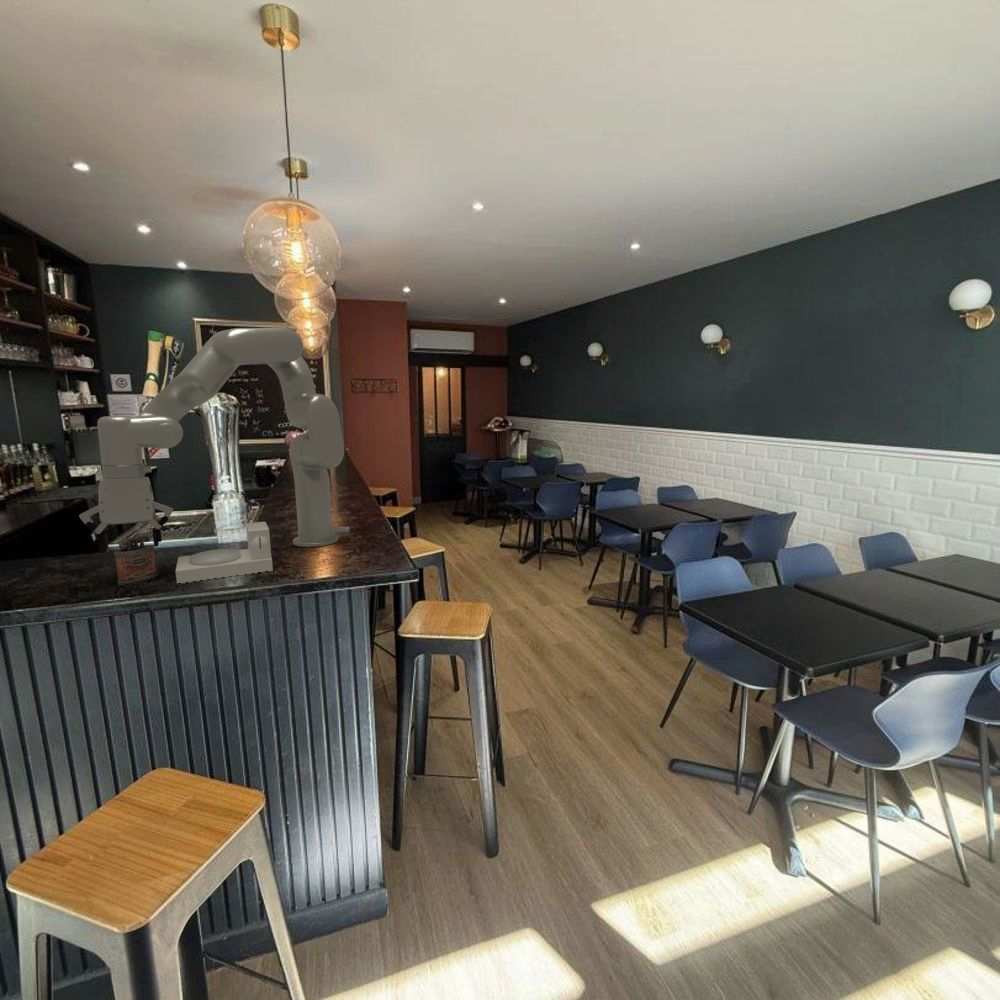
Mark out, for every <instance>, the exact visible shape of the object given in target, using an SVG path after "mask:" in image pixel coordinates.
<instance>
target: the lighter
mask: <svg viewBox="0 0 1000 1000" xmlns="http://www.w3.org/2000/svg"><path fill="white" fill-rule="evenodd" d="M150 539H151V537H150V536H149V535H143V536H138V537H136V538H133V537H128V538H126V540H122V541H118V547H119V549H120V550H116V551H114V552H113V556H114V557H115V559H114V560H115V565H116V571H117V579H118V580H117V585H118V584H119V585H118V586H120V585H123V586H126V585H125V584H129V583H134V582H138V581H142V580H146V579H149V580H151V579H150V578H152V579H154V578H153V577H156V576H158V574H159V573H158V572H157V568H156V559H155V551H154V550H155V546H154V544H145V543H147V542H150V541H151V540H150ZM156 578H157V577H156ZM146 581H147V580H146ZM142 582H143V581H142ZM138 583H139V582H138ZM134 584H135V583H134ZM129 585H130V584H129Z"/></svg>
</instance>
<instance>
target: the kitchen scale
mask: <svg viewBox="0 0 1000 1000" xmlns="http://www.w3.org/2000/svg"><path fill="white" fill-rule="evenodd" d="M245 526H246V536H247V548H245V549H244V548H243V549H232V548H221V549H220V548H219V549H210V550H209V549H208V550H206V551H200V552H197V553H196V552H195V553H194V554H192V555H184V556H183V555H181V556H177V557H178V558H177V562H176V567H175V578H176V579H175V580H176V585H179V584H178V583H181V584H187V583H186V582H188V583H194V582H193V581H196V582H201V581H200V580H203V581H208V580H207V579H210V580H215V579H214V578H217V579H223V578H222V577H225V578H231V577H230V576H232V577H237V576H236V575H239V576H245V574H247V575H253V574H252V573H254V574H259V573H258V572H261V573H266V572H265V571H268V572H273V571H274V569H273V558H272V550H271V548H272V547H271V539H270V528H269V526H268V524H267V522H266V521H257V522H247V523H245Z"/></svg>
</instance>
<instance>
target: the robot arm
mask: <svg viewBox="0 0 1000 1000" xmlns="http://www.w3.org/2000/svg"><path fill="white" fill-rule="evenodd" d="M303 352H304V342H303V340H302V338H301V336H300V335H299V334H298V333H297V332H296V331H295V330H293V329H291V328H287V327H258V328H256V327H244V328H243V327H239V328H238V327H235V328H230V329H224V330H221V331H218V332H216V333H214V334H213V335H212V336H211V337H210V338H209V339H208V340H207V342H205V343H204V344H203V346H202V347H201V348H200V349H199V351H198V352H197V353H196V354H195V355H194V356H193V358H192V359H191V360H190V361H189V362H188V364H186V366H185V367H184V368H183V369H182V371H181V372H180V373H179V374H178V375H176V376H175V377H174V378H173V379H172V380H171V381H169V383H168V384H167V385H166V386H164V388H162V389H161V390H160V391H159V392H158V393H157V394H156V395H155V396H154V397H153V398H152V399H151V400H150V401H149V402H148V404H147V405H146V406H145V407H144V408H143V409H142V411H140V413H139V414H138V415H137V417H133V416H124V415H123V416H122V415H112V416H111V415H107V416H101V417H99V419H97V433H98V443H99V451H100V463H101V469H102V470H101V471H102V472H101V473H102V477H103V478H101V479H99V484H98V504H97V505H96V506H94V507H92V508H89V509H88V510H86V511H84V512H82V513H80V514H79V516H78V517H79V519H80V520H81V522H83V524H85V526H86V528H88V529H90V530H91V531H92V532H94V533H95V535H96V536H97V546H98V548H101V551H102V552H106V551H108V549H109V541H108V532H107V531H106V528H107V526H108V525H122V524H135V523H136V524H139V523H146V522H147V523H148V524H150V525H151V527H153V528H152V539H153V545H154V548H155V547H158V546H159V544H160V543H161V542H162V529H161V528H162V527H163V526H164V525H165V524H166V523H167V522H168V521H169V519H170V518H171V516H172V513H173V511H174V508H172V507H170V506H167V505H165V504H162V503H159V502H157V501H155V497H154V492H153V487H152V485H151V484H152V483H151V481H150V478H149V476H145V475H146V474H148V473H152V466H147V465H144V460H143V459H144V458H143V448H147V449H148V448H150V449H152V448H153V449H161V450H162V449H163V450H164V449H165V450H167V449H171V448H173V447H175V446H177V445H179V444H180V442H181V441H182V440H183V437H184V430H183V427H182V425H181V424H180V423H179V422H180V421H181V420H182V419H183V417H184V416H186V414H188V413H189V412H190V411H192V410H193V409H195V408H197V407H199V406H201V405H203V404H205V403H207V402H208V401H209V400H211V399H213V398H214V397H215V396H216V395H217V394H218V392H219V391H220V390H221V389H222V387H223V386H224V384H225V383H226V382H227V381H228V380H229V378H230V377H231V376H232V375H233V373H234V372H235V371H236V370H237V369H238V368H239V366H244V365H246V366H247V365H267V366H269V367H270V368H271V369H272V370H273V371H274V372H275V374H276V375H277V378H278V380H279V383H280V386H281V391H282V396H283V402H284V408H285V412H286V417H287V420H288V422H289V423H290V425H292V426H293V427H294V428H298V429H303V430H307V433H306V432H305V433H301V434H298V435H296V436H295V437H294V438H293V439H292V440H291V441H290V444H289V447H288V449H289V450H288V454H289V460H290V464H291V467H292V471H293V479H294V492H295V506H296V519H297V520H296V521H297V522H296V523H297V534H298V535H297V537H294V538H293V540H292V544H293V545H294V546H296V547H300V548H301V547H302V548H314V547H315V548H316V547H318V548H319V547H325V546H328V545H332V544H335V543H337V542H339V540H340V539H339V534H349V533H350V526H342V525H341V526H335V525H334V524H333V515H332V514H333V513H332V499H331V498H332V497H331V482H330V476H329V473H328V470H332V469H335V468H337V467H338V466H339V465H341V462H342V461H343V460H344V455H345V447H344V446H345V445H344V438H343V432H342V428H341V420H340V415H339V411H338V409H337V406H336V404H335V403H334V402H333V400H332V399H331V398H329V397H328V396H326V395H324V394H321V393H317V391H316V387H315V383H314V378H313V374H312V371H311V369H310V367H309V365H308V363H307V362H306V360H305V359H304V358H303V356H302V354H303ZM156 510H159V511H161V512H163V513H164V514H163V515H162V517H161V518H160V519H159V520H158V519H157V518H156V517H155V516H156ZM97 513H98V515H99V516H98V517H99V521H100V523H99V524H98V523H96V522H94V521H93V520H92V519H91V516H93V515H95V514H97Z"/></svg>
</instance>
